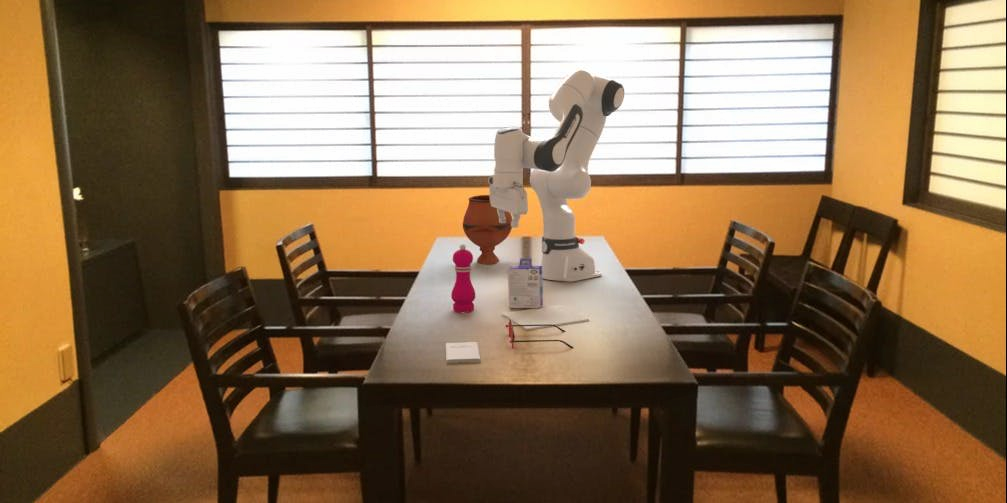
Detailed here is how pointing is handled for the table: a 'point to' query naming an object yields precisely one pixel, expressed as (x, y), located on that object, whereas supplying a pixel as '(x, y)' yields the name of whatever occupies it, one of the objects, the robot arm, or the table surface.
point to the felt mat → (544, 317)
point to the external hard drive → (462, 352)
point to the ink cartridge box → (525, 285)
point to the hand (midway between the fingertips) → (508, 225)
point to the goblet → (485, 227)
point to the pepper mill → (463, 281)
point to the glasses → (511, 332)
